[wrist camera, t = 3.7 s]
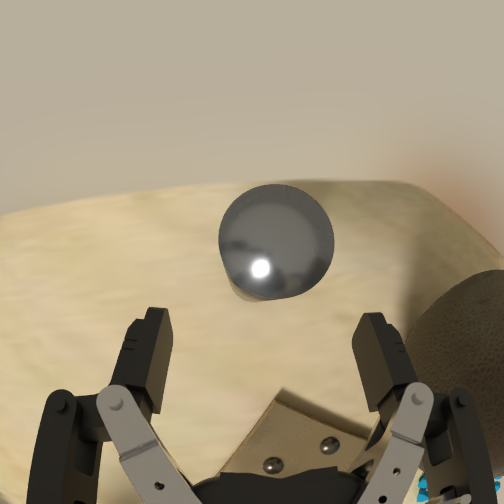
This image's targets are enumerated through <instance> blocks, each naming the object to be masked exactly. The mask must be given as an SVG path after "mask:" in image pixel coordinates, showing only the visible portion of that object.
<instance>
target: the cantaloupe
mask: <svg viewBox="0 0 504 504" xmlns="http://www.w3.org/2000/svg"><path fill="white" fill-rule="evenodd" d="M405 348H406V352H407V353H408V355H409V358H410V360H411V363H412V365H413V368H414V370H415V373H416V376H417V378H418V380H419V382H420V383H423V384H425V385H426V386H428V387H429V388H430V390H431V391H432V392H434V393H443V394H449V393H450V392H451V391H452V390H453V389H455V388H464V389H466V390H467V391H468V392H469V393H470V394H471V396H472V399H473V402H474V404H475V407H476V411H477V414H478V417H479V420H480V423H481V427H482V430H483V434H484V437H485V441H486V445H487V449H488V453H489V457H490V462H491V467H492V472H493V477H494V478H497V477H501V476H504V270H490V271H485V272H481V273H478V274H476V275H473V276H471V277H469V278H468V279H466V280H464V281H463V282H461V283H459V284H458V285H456V286H454V287H453V288H451V289H450V290H449V291H448V292H446V293H445V294H444V295H443V296H441V297H440V298H439V299H438V300H437V301H436V302H435V303H434V304H433V305H432V306H431V307H430V308H429V309H428V310H427V311H426V312H425V313H424V314H423V315H422V316H421V318H420V319H419V320H418V321H417V322H416V324H415V325H414V327H413V329H412V330H411V332H410V334H409V336H408V338H407V341H406V343H405ZM447 432H448V436H449V440H450V445H451V449H452V454H453V446H452V441H451V437H450V433H449V429H448V430H447ZM419 468H420V469H421V470H422V471H423V472H425V470H424V465H423V459H421V462H420V464H419Z"/></svg>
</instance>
